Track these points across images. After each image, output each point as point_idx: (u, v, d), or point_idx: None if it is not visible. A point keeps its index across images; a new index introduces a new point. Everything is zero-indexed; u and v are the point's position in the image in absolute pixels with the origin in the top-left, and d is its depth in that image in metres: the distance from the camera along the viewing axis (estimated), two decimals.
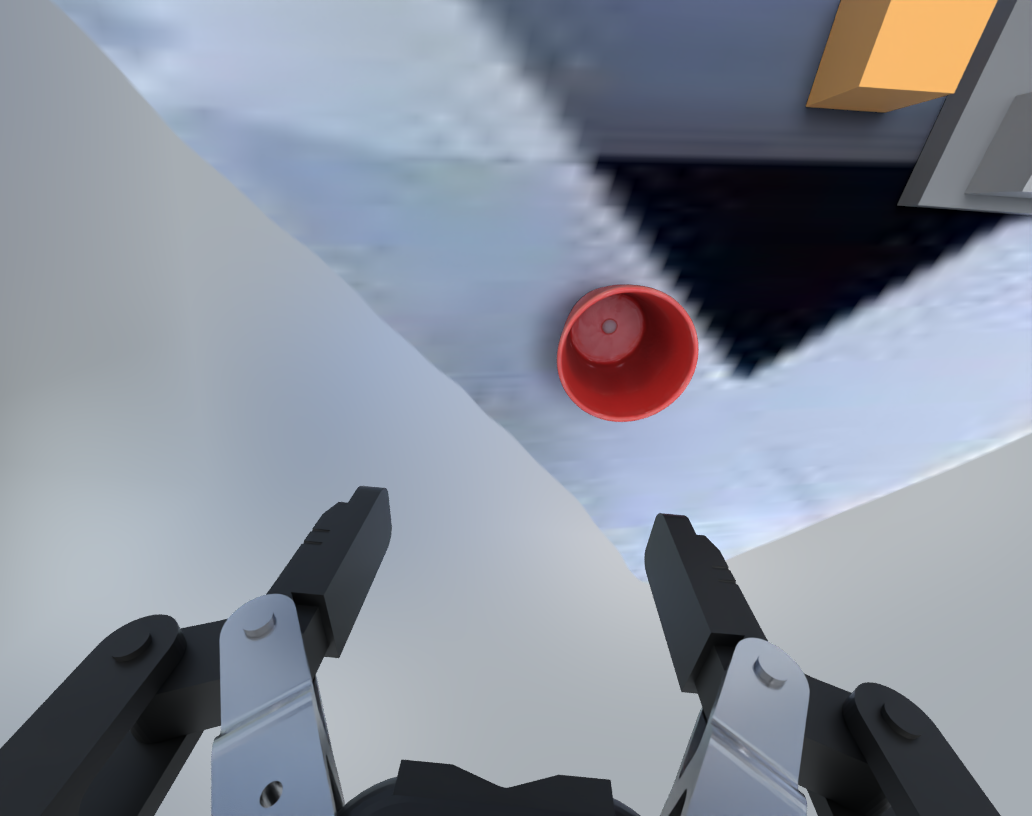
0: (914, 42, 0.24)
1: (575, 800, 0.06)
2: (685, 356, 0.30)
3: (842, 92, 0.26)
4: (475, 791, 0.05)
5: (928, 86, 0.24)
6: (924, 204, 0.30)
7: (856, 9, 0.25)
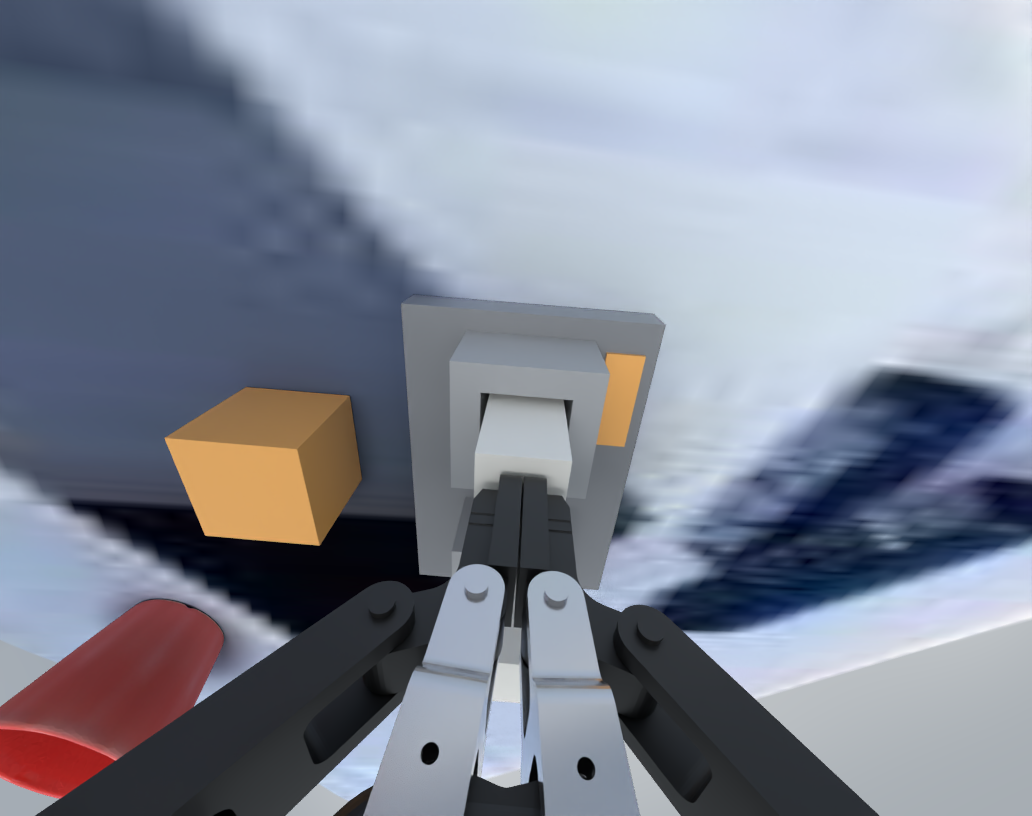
0: (237, 506, 0.19)
1: None
2: None
3: None
4: (475, 790, 0.05)
5: (285, 539, 0.20)
6: (426, 574, 0.26)
7: None
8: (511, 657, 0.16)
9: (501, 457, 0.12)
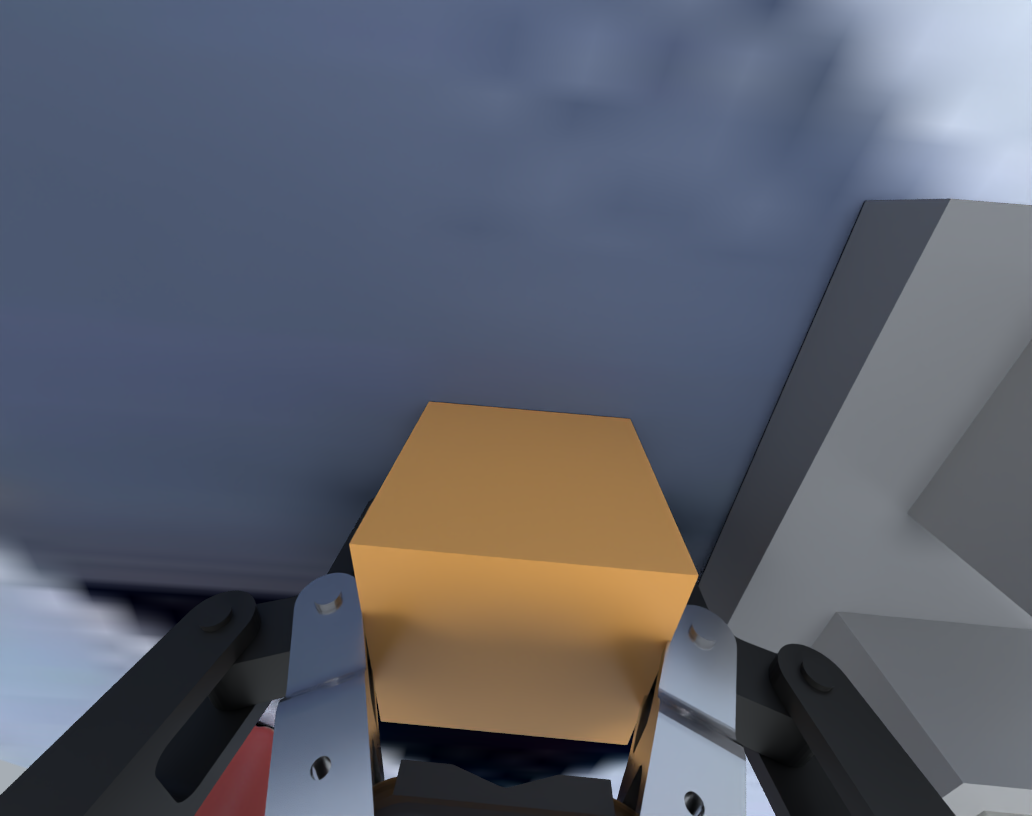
0: (477, 678, 0.08)
1: (575, 800, 0.06)
2: None
3: None
4: (475, 789, 0.05)
5: (555, 733, 0.09)
6: None
7: None
8: None
9: None
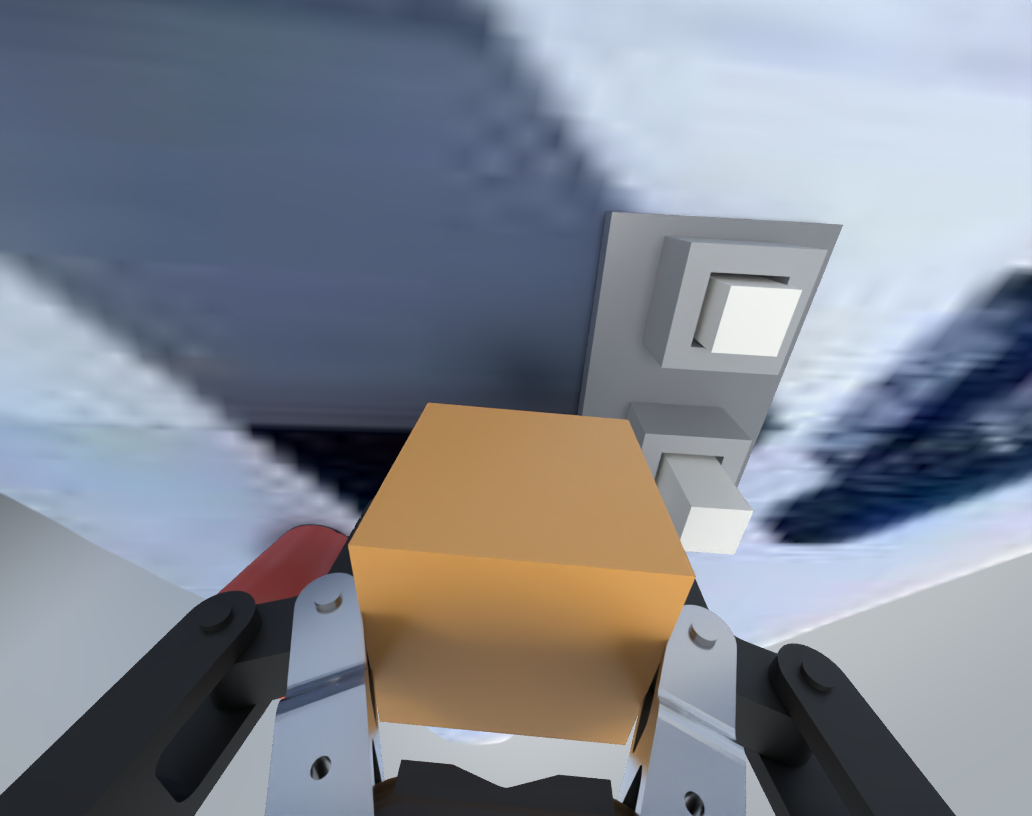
0: (475, 679, 0.08)
1: (575, 800, 0.06)
2: None
3: None
4: (475, 789, 0.05)
5: (554, 733, 0.09)
6: None
7: None
8: (725, 505, 0.19)
9: (750, 288, 0.16)
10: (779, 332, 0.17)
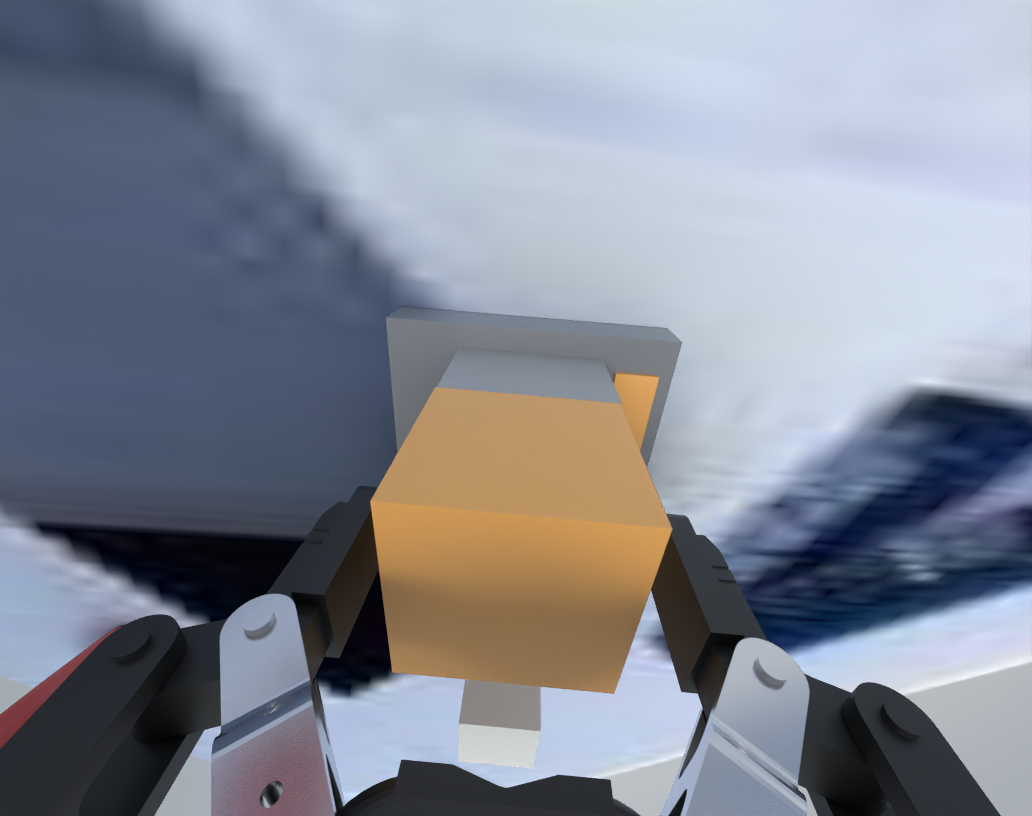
0: (479, 629, 0.09)
1: (575, 800, 0.06)
2: None
3: None
4: (475, 790, 0.05)
5: (550, 682, 0.10)
6: None
7: None
8: (507, 719, 0.14)
9: None
10: None
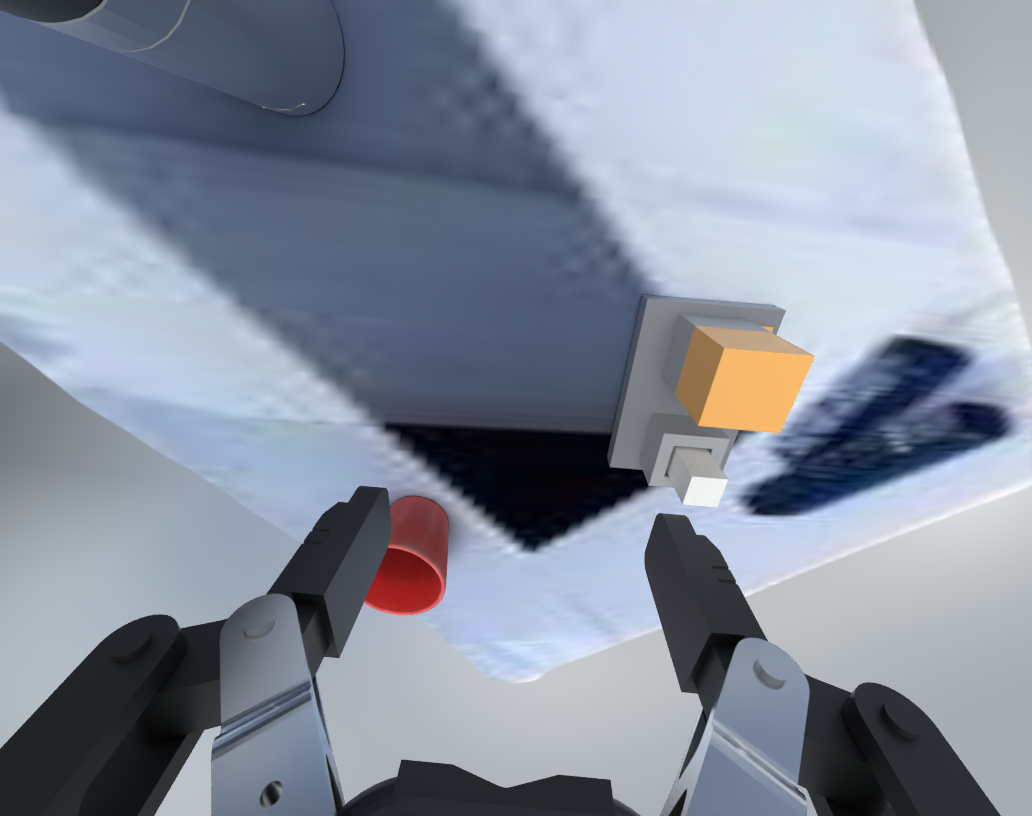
0: (739, 401, 0.27)
1: (575, 800, 0.06)
2: None
3: (691, 415, 0.30)
4: (475, 790, 0.05)
5: (757, 428, 0.28)
6: (614, 466, 0.42)
7: (700, 350, 0.29)
8: (712, 476, 0.32)
9: None
10: None
